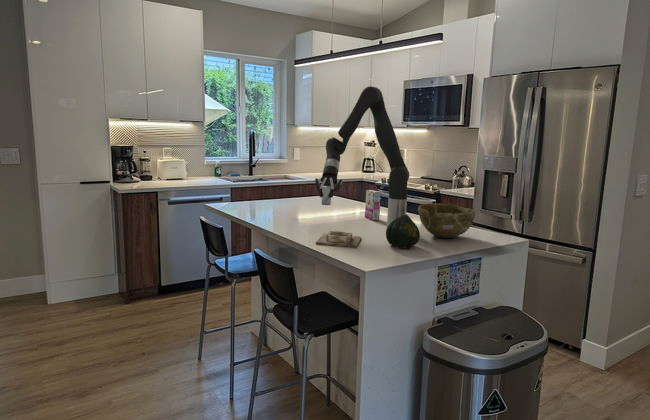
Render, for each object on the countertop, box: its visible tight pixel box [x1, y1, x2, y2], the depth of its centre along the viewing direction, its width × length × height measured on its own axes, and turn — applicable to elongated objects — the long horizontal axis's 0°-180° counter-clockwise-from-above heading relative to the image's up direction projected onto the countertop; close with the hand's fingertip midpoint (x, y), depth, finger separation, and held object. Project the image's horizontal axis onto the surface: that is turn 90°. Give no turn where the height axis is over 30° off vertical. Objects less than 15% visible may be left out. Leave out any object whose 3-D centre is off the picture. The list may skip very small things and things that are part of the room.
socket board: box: [315, 230, 362, 249], centre depth 204 cm, size 18×18×4 cm
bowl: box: [417, 203, 476, 239], centre depth 220 cm, size 28×27×15 cm
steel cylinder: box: [321, 186, 332, 206], centre depth 218 cm, size 4×4×9 cm
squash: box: [385, 213, 421, 250], centre depth 199 cm, size 14×15×15 cm
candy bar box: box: [364, 189, 382, 221], centre depth 260 cm, size 11×5×16 cm, turn 17°
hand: (325, 196), depth 216 cm, fingers closed on steel cylinder, 4 cm apart
